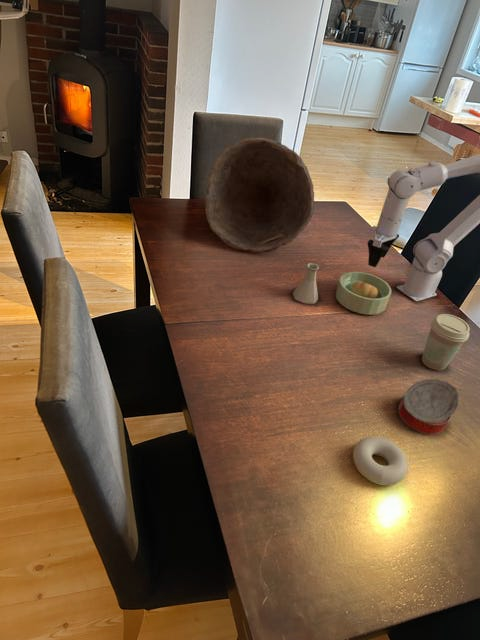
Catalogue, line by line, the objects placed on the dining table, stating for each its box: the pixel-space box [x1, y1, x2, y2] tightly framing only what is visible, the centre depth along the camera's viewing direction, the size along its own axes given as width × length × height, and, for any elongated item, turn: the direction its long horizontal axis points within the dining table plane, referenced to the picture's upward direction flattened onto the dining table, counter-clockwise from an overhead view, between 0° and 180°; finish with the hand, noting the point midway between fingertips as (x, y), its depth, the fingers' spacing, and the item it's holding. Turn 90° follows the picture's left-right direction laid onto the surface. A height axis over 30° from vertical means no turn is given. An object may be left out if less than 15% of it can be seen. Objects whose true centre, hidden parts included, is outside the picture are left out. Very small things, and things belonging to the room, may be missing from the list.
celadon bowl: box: [335, 271, 393, 316], centre depth 131 cm, size 14×14×6 cm
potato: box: [352, 281, 378, 299], centre depth 132 cm, size 7×4×4 cm
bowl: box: [204, 137, 315, 253], centre depth 156 cm, size 34×35×30 cm
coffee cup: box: [421, 313, 471, 372], centre depth 111 cm, size 9×8×12 cm
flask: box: [292, 262, 320, 305], centre depth 128 cm, size 7×7×10 cm
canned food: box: [397, 378, 459, 435], centre depth 97 cm, size 11×10×10 cm
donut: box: [352, 435, 409, 487], centre depth 86 cm, size 10×3×10 cm
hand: (376, 260), depth 134 cm, fingers open, 7 cm apart
